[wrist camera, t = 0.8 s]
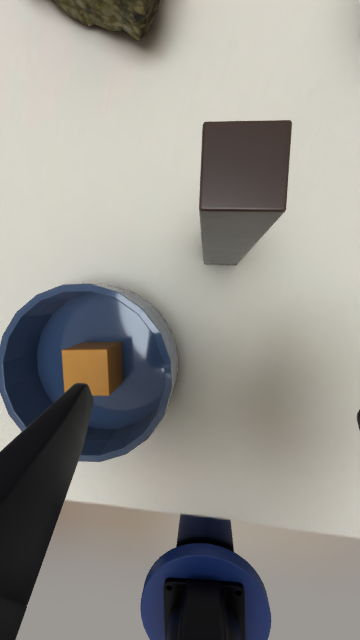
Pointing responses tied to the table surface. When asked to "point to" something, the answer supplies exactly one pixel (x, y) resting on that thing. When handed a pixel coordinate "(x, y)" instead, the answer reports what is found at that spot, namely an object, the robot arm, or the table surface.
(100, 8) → the rock
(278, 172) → the stick
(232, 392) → the table surface
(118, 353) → the block
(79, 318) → the bowl
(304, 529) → the table surface
